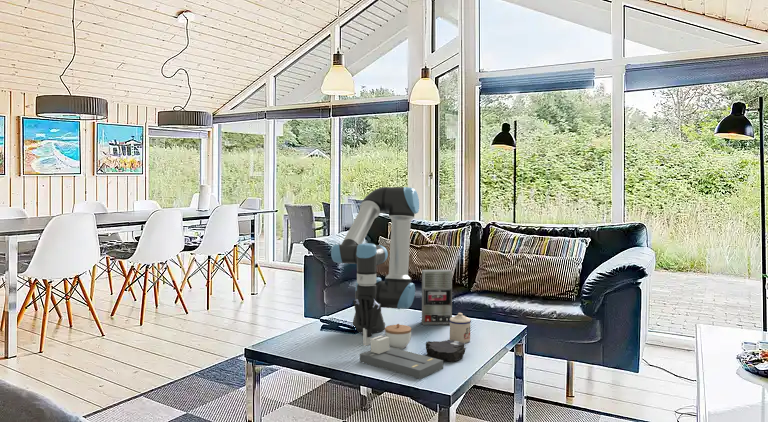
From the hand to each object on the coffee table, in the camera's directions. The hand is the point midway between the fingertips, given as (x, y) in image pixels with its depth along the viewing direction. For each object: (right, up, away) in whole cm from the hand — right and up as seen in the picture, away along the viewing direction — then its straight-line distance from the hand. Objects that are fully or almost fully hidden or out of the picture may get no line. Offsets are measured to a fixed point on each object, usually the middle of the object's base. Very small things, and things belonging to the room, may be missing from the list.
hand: (366, 344), depth 223 cm
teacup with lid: (+39, -3, +22) cm, 45 cm away
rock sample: (+30, -5, +1) cm, 31 cm away
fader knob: (+5, -1, -4) cm, 7 cm away
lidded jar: (+12, -4, +12) cm, 18 cm away
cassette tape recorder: (+31, -2, +48) cm, 58 cm away
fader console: (+13, -5, -10) cm, 17 cm away
